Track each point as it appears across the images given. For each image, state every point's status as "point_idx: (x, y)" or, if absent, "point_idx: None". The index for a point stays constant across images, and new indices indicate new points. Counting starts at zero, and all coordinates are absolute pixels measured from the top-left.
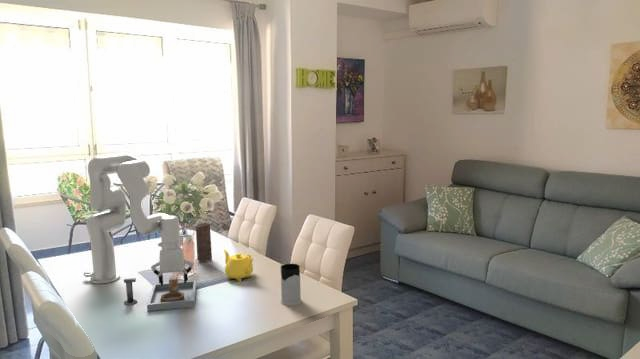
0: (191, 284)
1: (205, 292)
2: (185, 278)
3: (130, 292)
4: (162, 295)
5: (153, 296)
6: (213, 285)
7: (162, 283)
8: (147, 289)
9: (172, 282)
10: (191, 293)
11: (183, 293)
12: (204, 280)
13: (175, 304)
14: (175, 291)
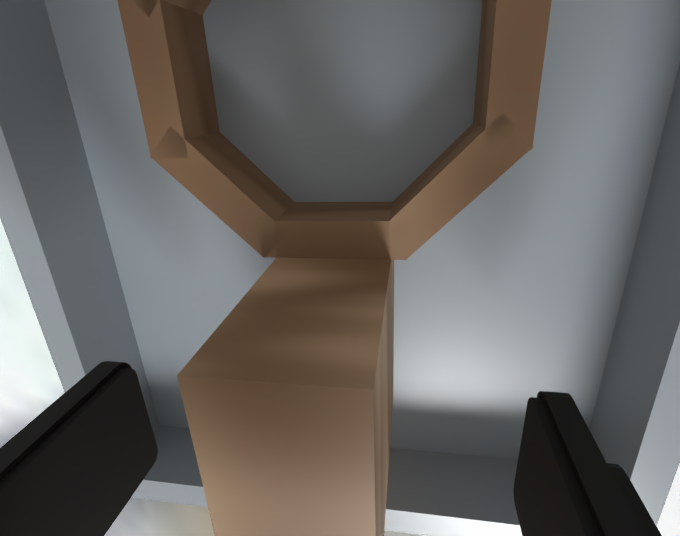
0: (165, 450)
1: (12, 273)
2: (31, 426)
3: None
4: (514, 113)
5: (663, 217)
6: (4, 415)
7: (535, 431)
8: (677, 528)
9: (295, 345)
10: (133, 257)
11: (150, 128)
12: (121, 531)
13: None
14: (297, 248)
